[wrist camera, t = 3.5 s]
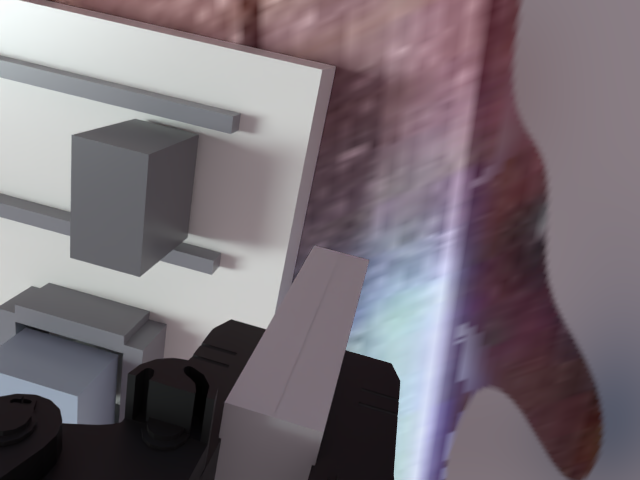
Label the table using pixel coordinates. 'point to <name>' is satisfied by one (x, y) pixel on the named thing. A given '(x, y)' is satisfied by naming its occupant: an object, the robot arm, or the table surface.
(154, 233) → the slide switch
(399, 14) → the table surface
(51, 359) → the grey button
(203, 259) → the switch panel
